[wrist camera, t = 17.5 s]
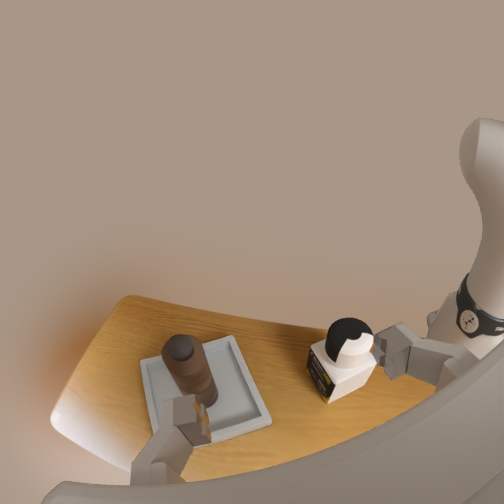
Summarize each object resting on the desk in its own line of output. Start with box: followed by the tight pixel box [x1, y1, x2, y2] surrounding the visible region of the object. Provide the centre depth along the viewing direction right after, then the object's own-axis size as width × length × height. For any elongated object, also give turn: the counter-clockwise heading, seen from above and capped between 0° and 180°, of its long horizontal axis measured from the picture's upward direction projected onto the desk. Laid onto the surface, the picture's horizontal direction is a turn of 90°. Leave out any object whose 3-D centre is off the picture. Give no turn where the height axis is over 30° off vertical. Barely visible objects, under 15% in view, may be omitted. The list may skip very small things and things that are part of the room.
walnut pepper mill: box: [162, 334, 218, 409], centre depth 34 cm, size 5×5×14 cm
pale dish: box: [140, 335, 272, 449], centre depth 37 cm, size 16×16×2 cm
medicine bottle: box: [306, 318, 377, 404], centre depth 36 cm, size 7×7×12 cm
